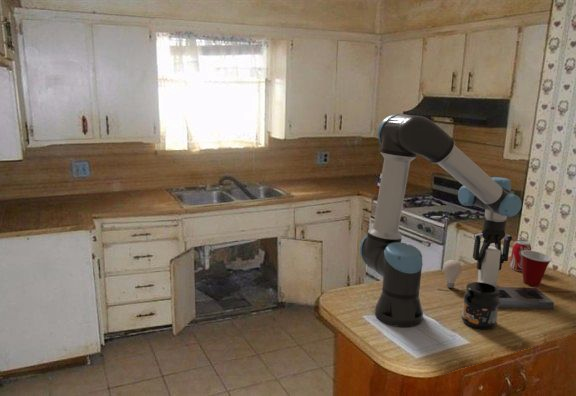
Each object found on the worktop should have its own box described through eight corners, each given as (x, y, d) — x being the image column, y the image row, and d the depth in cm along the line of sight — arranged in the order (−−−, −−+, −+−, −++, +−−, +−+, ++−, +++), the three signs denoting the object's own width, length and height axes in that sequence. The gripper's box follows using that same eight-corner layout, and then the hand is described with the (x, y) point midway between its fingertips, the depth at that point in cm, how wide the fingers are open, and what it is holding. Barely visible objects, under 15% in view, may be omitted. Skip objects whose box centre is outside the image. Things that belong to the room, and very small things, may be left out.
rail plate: (489, 307, 158) (489, 300, 157) (475, 292, 169) (476, 286, 169) (553, 309, 158) (554, 302, 157) (535, 294, 169) (536, 287, 169)
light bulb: (463, 288, 173) (466, 261, 170) (452, 292, 169) (455, 264, 166) (448, 282, 178) (451, 256, 175) (437, 286, 174) (440, 259, 172)
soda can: (512, 271, 191) (516, 244, 188) (507, 265, 198) (511, 239, 195) (530, 273, 190) (534, 245, 187) (524, 266, 196) (528, 240, 194)
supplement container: (453, 317, 150) (457, 283, 147) (479, 312, 154) (483, 279, 151) (477, 333, 140) (482, 297, 138) (503, 327, 144) (508, 292, 141)
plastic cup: (549, 291, 172) (554, 261, 169) (517, 286, 176) (522, 256, 173) (545, 280, 182) (550, 252, 179) (515, 276, 186) (519, 248, 183)
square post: (482, 287, 174) (487, 250, 170) (477, 282, 179) (482, 246, 175) (495, 288, 174) (500, 250, 170) (490, 282, 179) (495, 246, 175)
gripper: (514, 216, 174) (506, 274, 179) (467, 215, 174) (460, 273, 179) (524, 222, 167) (515, 282, 172) (474, 221, 167) (467, 280, 172)
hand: (487, 277), depth 175 cm, fingers closed on square post, 5 cm apart
